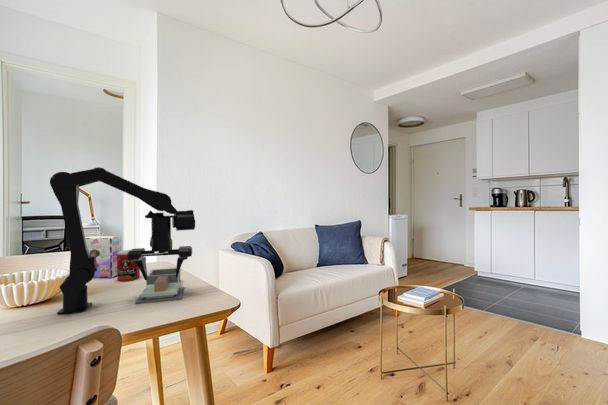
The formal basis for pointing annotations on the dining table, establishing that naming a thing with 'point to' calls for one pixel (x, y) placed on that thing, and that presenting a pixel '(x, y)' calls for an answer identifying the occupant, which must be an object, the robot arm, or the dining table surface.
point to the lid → (161, 289)
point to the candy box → (104, 254)
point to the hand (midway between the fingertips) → (161, 278)
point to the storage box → (162, 272)
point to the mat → (175, 297)
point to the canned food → (126, 267)
